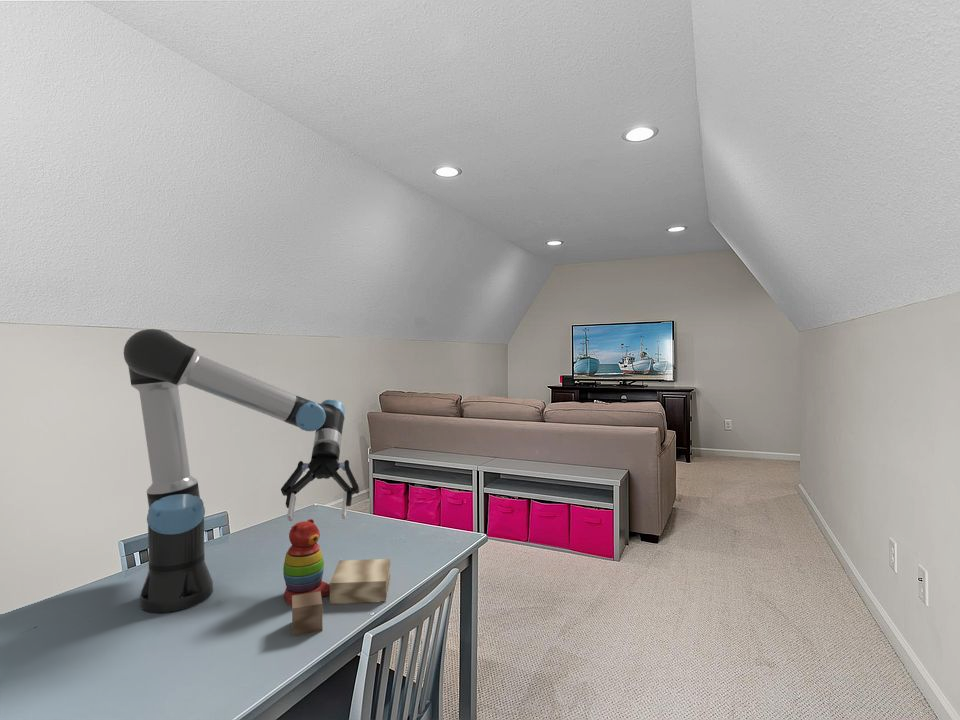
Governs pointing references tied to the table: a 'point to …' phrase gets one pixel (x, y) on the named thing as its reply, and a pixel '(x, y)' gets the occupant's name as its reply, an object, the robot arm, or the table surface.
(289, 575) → the stacking bear
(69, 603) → the table surface
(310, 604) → the walnut cube
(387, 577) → the maple block
